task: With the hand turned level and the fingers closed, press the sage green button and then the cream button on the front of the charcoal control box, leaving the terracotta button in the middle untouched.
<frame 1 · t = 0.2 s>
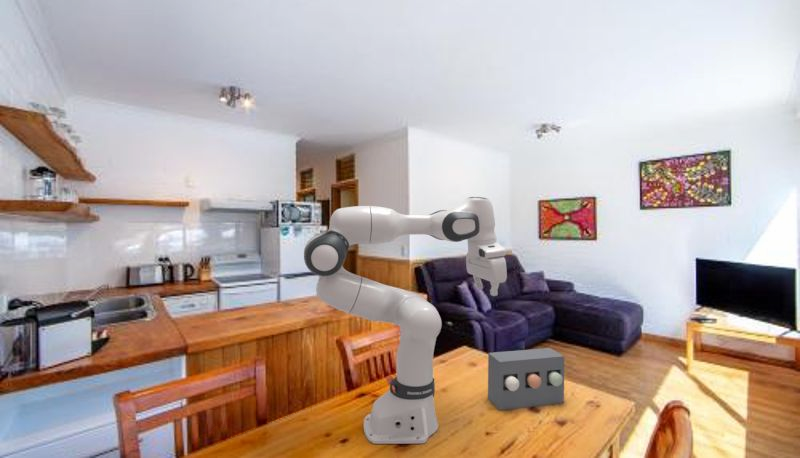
hand: (486, 292, 110), 40 cm above the table, tool pointing down, fingers open, 8 cm apart
cream button: (511, 383, 114), point 9 cm above the table, slide at 0.0 cm
control box: (535, 409, 114), on the table
sage button: (555, 378, 117), point 9 cm above the table, slide at 0.0 cm
terracotta button: (533, 381, 115), point 9 cm above the table, slide at 0.0 cm
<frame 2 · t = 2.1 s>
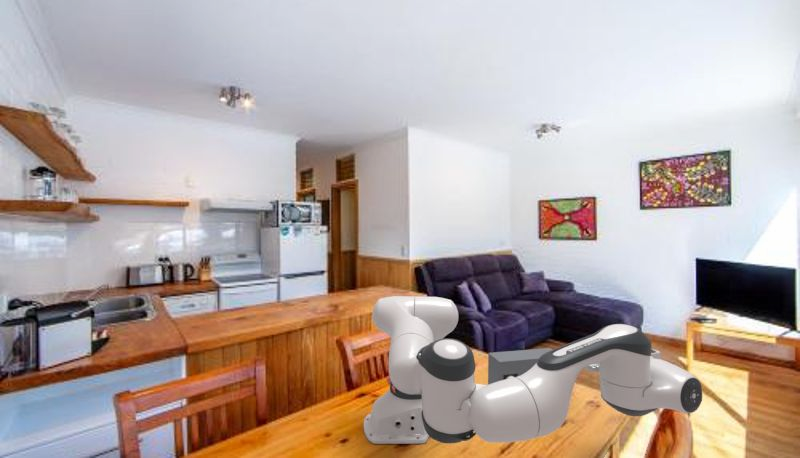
hand: (591, 348, 99), 26 cm above the table, tool horizontal, fingers open, 8 cm apart
nothing on the table moved.
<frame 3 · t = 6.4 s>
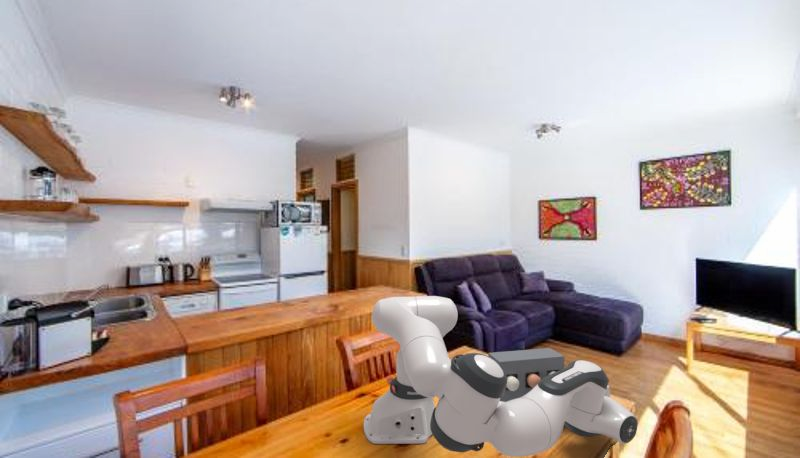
hand: (555, 378, 117), 9 cm above the table, tool horizontal, fingers closed, pressing on sage button
sage button: (553, 377, 118), point 9 cm above the table, slide at 1.2 cm, touching gripper
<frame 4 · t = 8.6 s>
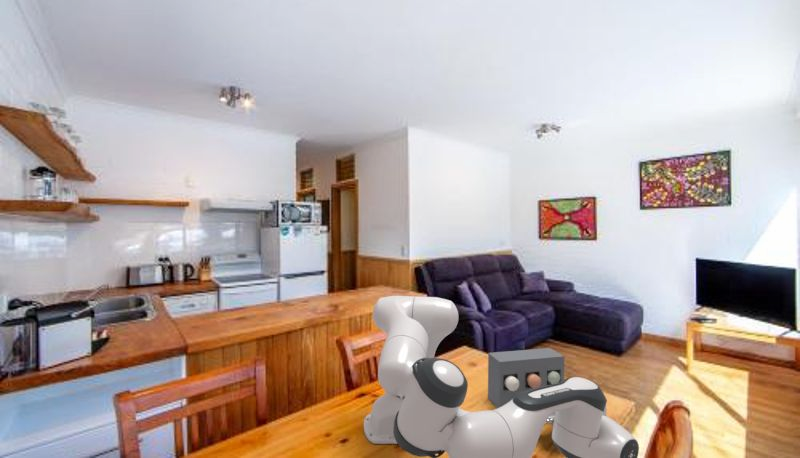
hand: (547, 393, 108), 8 cm above the table, tool horizontal, fingers closed
sage button: (552, 376, 118), point 9 cm above the table, slide at 1.4 cm
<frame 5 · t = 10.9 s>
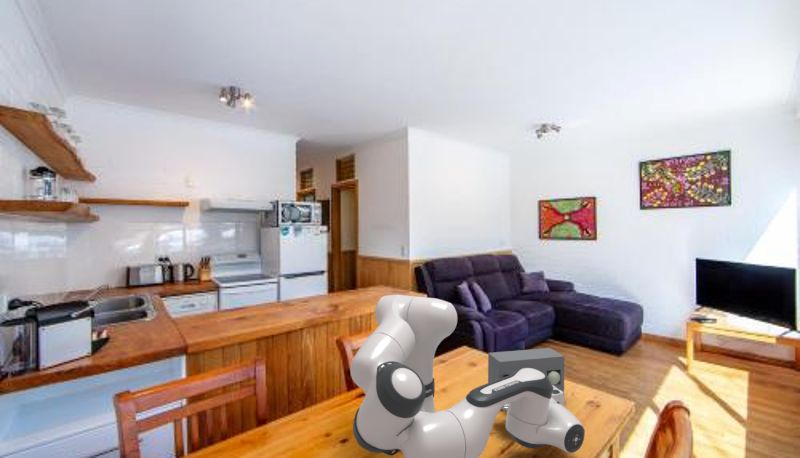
hand: (512, 383, 113), 9 cm above the table, tool horizontal, fingers closed, pressing on cream button
cream button: (510, 382, 114), point 9 cm above the table, slide at 0.9 cm, touching gripper
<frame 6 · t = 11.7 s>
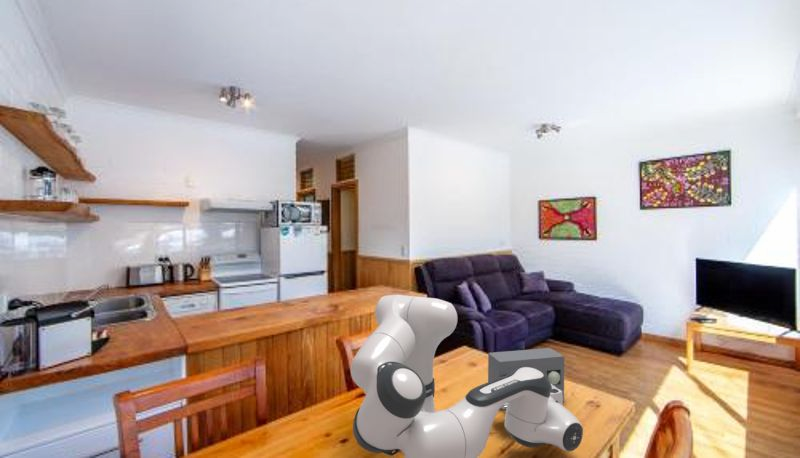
hand: (511, 382, 114), 9 cm above the table, tool horizontal, fingers closed
cream button: (509, 381, 115), point 9 cm above the table, slide at 1.4 cm
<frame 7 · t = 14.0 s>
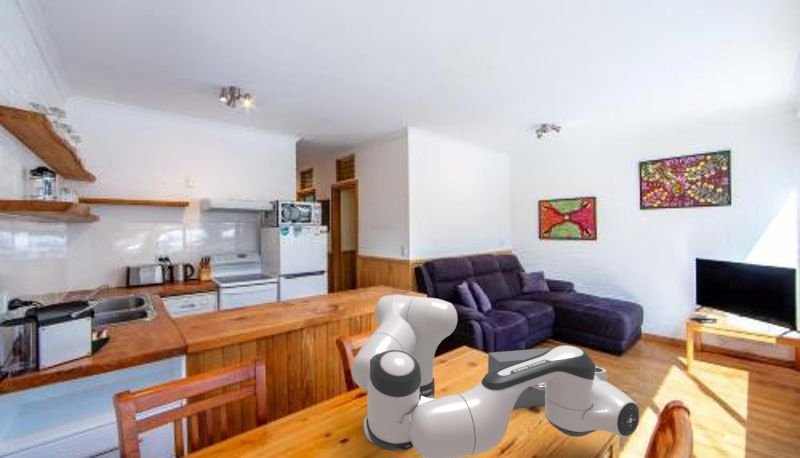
hand: (544, 362, 101), 21 cm above the table, tool horizontal, fingers closed
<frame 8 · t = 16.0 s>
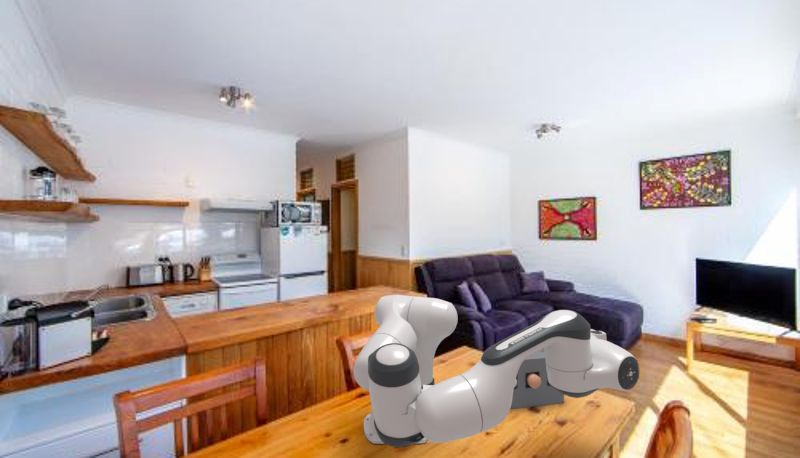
hand: (543, 330, 102), 30 cm above the table, tool horizontal, fingers closed
at the end: sage button slide at 1.4 cm; cream button slide at 1.4 cm; terracotta button slide at 0.0 cm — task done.
